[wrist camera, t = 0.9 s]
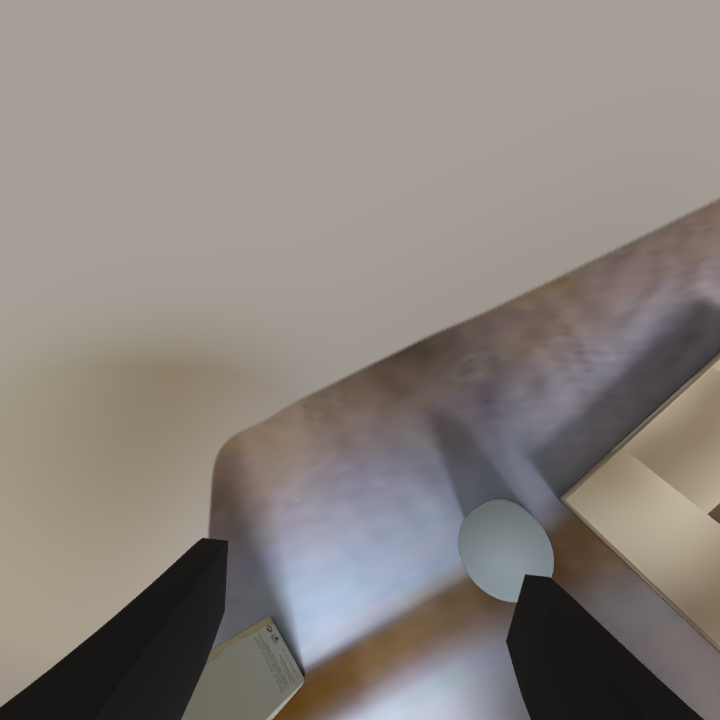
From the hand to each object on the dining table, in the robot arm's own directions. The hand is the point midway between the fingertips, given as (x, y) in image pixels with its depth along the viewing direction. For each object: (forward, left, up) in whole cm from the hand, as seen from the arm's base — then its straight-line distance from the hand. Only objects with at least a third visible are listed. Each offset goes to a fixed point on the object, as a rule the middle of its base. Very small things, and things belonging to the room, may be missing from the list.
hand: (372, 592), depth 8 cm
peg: (-2, -2, -14) cm, 14 cm away
